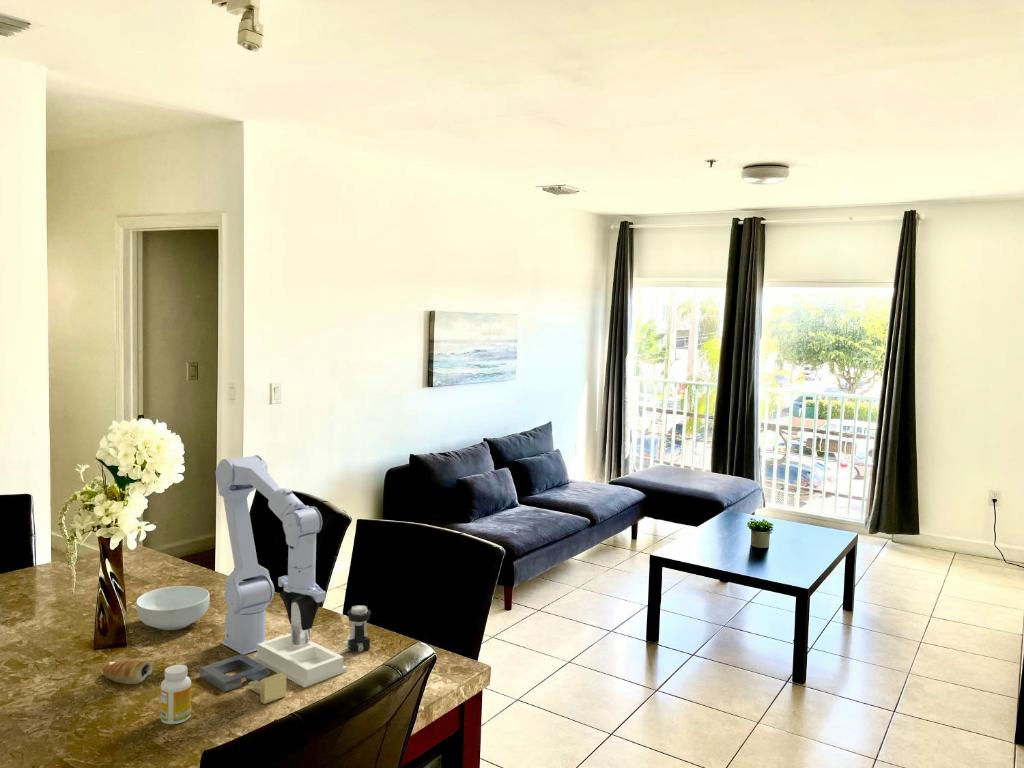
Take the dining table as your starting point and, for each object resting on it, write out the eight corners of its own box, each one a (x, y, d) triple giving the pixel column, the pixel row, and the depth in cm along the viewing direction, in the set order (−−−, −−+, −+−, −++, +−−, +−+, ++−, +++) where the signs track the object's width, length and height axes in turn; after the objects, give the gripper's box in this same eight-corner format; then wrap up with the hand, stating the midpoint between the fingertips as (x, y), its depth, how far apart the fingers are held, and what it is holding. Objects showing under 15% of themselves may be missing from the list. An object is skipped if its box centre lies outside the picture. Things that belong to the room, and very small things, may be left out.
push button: (346, 657, 185) (347, 614, 184) (337, 648, 189) (338, 607, 188) (373, 651, 188) (374, 609, 187) (364, 643, 193) (365, 602, 192)
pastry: (95, 682, 168) (95, 664, 167) (114, 669, 174) (114, 651, 174) (138, 686, 167) (138, 668, 167) (155, 672, 174) (156, 655, 173)
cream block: (241, 690, 166) (241, 669, 166) (263, 682, 170) (263, 661, 169) (264, 704, 161) (264, 682, 160) (286, 695, 165) (286, 674, 164)
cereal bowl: (156, 610, 208) (156, 583, 207) (220, 613, 208) (220, 586, 207) (122, 636, 191) (122, 607, 191) (191, 639, 191) (192, 610, 190)
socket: (199, 676, 172) (200, 667, 172) (242, 662, 179) (242, 653, 179) (225, 692, 165) (225, 682, 165) (267, 676, 173) (268, 667, 173)
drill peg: (286, 641, 175) (287, 600, 174) (302, 636, 178) (303, 596, 177) (297, 646, 172) (298, 605, 172) (313, 641, 175) (314, 601, 175)
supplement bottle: (195, 711, 157) (195, 663, 156) (184, 725, 152) (185, 675, 151) (167, 710, 157) (167, 662, 156) (155, 724, 152) (156, 674, 151)
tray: (253, 659, 181) (253, 644, 181) (295, 646, 189) (295, 631, 189) (304, 687, 169) (304, 671, 169) (346, 671, 177) (347, 655, 177)
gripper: (266, 560, 175) (265, 621, 176) (306, 576, 166) (305, 640, 167) (294, 554, 181) (293, 613, 182) (334, 569, 171) (333, 631, 172)
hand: (300, 625), depth 175 cm, fingers closed on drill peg, 4 cm apart
